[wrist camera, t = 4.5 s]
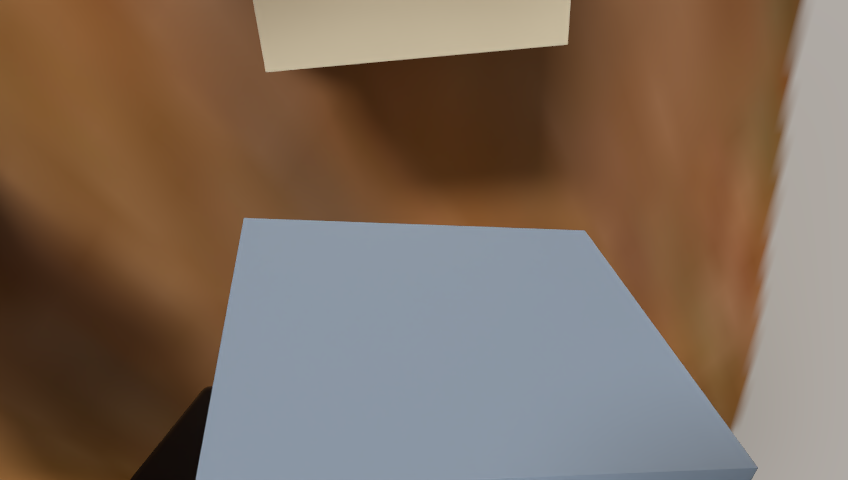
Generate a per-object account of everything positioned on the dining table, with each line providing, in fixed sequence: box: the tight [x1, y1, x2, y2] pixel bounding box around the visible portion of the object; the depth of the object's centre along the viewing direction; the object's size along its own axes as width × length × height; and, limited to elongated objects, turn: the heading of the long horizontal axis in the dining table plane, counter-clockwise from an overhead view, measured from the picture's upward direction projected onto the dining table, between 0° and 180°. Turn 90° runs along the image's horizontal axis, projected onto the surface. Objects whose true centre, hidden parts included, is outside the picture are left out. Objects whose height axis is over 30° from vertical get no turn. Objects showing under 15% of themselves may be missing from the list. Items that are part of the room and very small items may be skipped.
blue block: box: [196, 218, 758, 480], centre depth 8 cm, size 4×4×4 cm
